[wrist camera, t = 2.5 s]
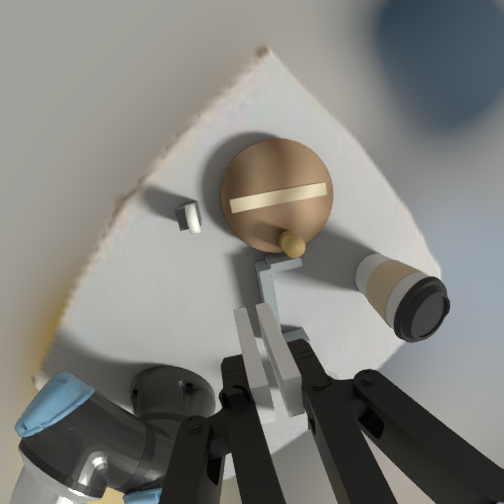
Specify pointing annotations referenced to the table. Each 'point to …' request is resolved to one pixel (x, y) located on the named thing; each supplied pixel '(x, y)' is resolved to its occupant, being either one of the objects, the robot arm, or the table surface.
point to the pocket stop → (266, 286)
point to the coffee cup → (403, 296)
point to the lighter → (189, 217)
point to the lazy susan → (277, 196)
